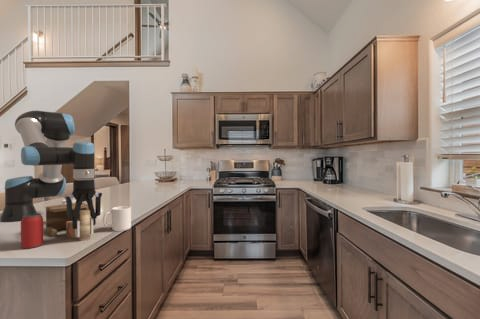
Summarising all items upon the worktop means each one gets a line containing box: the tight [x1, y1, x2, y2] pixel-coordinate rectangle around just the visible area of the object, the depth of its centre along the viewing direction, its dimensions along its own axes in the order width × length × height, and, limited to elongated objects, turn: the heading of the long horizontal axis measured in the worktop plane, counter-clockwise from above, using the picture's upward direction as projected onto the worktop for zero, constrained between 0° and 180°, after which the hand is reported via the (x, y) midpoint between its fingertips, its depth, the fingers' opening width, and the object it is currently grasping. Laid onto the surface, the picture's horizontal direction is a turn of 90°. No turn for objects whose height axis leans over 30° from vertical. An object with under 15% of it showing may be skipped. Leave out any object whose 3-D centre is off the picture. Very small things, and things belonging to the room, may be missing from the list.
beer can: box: [20, 213, 44, 249], centre depth 94 cm, size 7×7×12 cm
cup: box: [102, 205, 132, 232], centre depth 115 cm, size 8×12×10 cm
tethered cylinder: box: [65, 210, 91, 242], centre depth 105 cm, size 14×6×12 cm, turn 52°
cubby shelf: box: [45, 202, 89, 238], centre depth 114 cm, size 11×14×12 cm
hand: (84, 234), depth 102 cm, fingers open, 4 cm apart
